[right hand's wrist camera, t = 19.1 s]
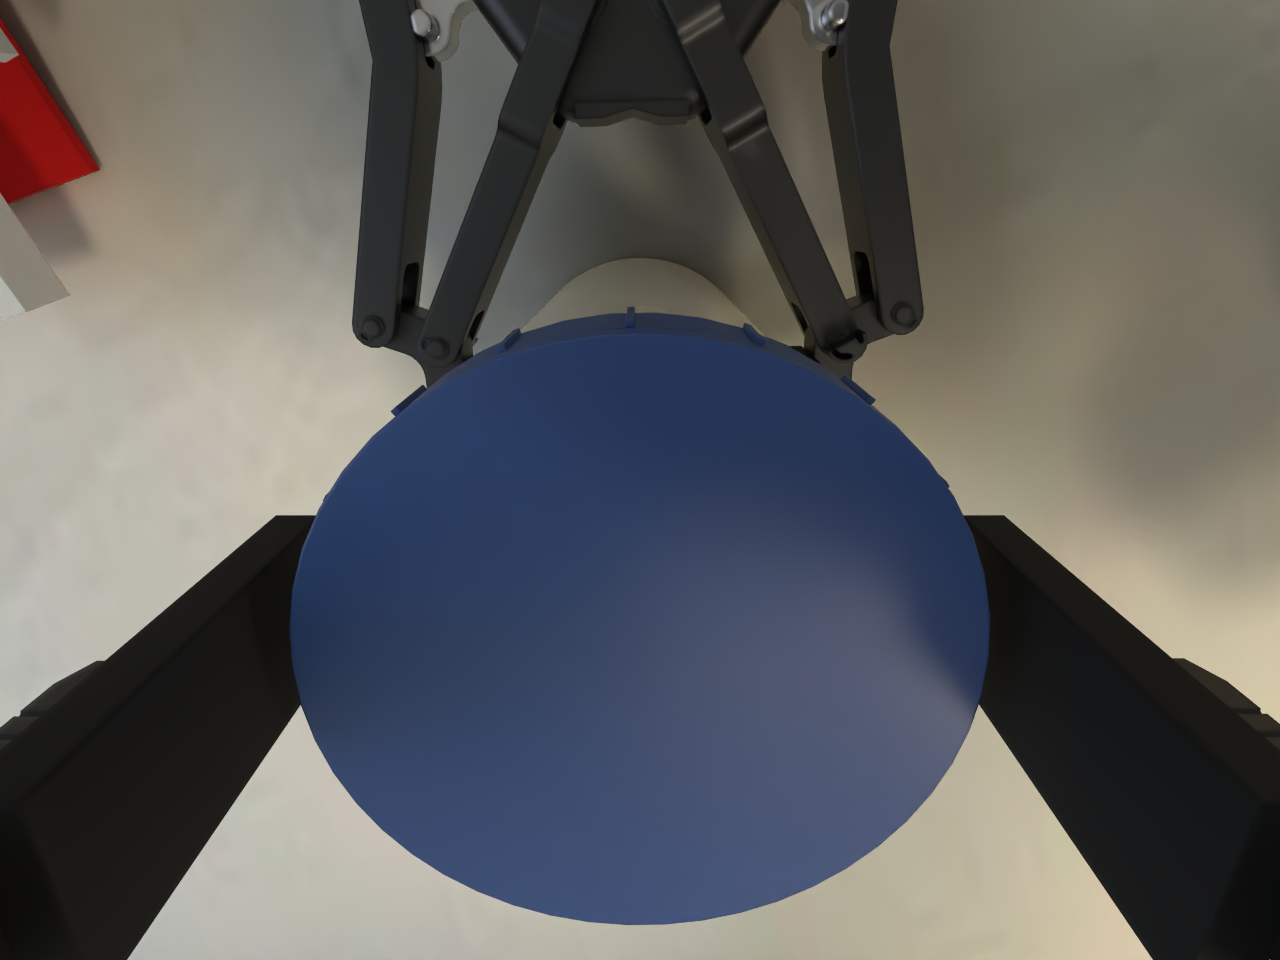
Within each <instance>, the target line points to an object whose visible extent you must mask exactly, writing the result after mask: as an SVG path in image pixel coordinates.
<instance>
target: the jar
mask: <svg viewBox="0 0 1280 960" xmlns="http://www.w3.org/2000/svg"><path fill="white" fill-rule="evenodd" d="M627 307H635V313H650V312H657V313H665V314H674V315H683V316H692V317H701V318H705V319H709V320H713V321H717V322H721V323H725V324H729V325H733V326H737V327H741V328H743V325H744V323H747V324H750V325H751V326H752V327H753V328H754V329H755V330H756V331H757V332H758V333H759V334H760V335H762V336H764V335H763V334H762V333H761V332H760V331H759V330H758V329H757V328H756V327H755V325H754V324H753V323H752V322H751V321H750V320H749V319H748V318H747V317H746V316H745V315H744V314H743V313H742V312H741V311H740V310H739V309H738V308H737V307H736V306H735V305H734V304H733V303H732V302H731V300H730V299H729V298H728V297H727V296H726V295H725V294H724V293H723V292H722V291H721V290H719V289H718V288H717V287H716V286H715V285H714V284H713V283H712V282H710V281H709V280H707V279H706V278H705V277H703V276H702V275H700V274H698V273H696V272H694V271H693V270H691V269H689V268H687V267H684V266H681V265H679V264H676V263H673V262H669V261H664V260H660V259H653V258H628V259H620V260H616V261H611V262H607V263H604V264H601V265H599V266H596V267H593V268H591V269H589V270H587V271H586V272H584V273H582V274H580V275H578V276H577V277H575V278H574V279H573V280H571V281H570V282H568V283H567V284H566V285H565V286H564V287H563V288H562V289H561V290H559V291H558V292H557V293H556V294H555V295H554V296H553V297H552V298H551V299H550V300H549V302H548V303H547V304H546V305H545V306H544V307H543V308H542V309H541V310H540V311H539V312H538V313H537V314H536V315H535V316H534V317H533V318H532V319H531V320H530V321H529V322H528V323H527V324H526V325H525V326H524V328H523V329H522V330H521V333H524V332H527V331H530V330H534V329H537V328H540V327H544V326H547V325H551V324H554V323H557V322H561V321H564V320H570V319H577V318H583V317H589V316H596V315H602V314H609V313H627Z"/></svg>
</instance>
